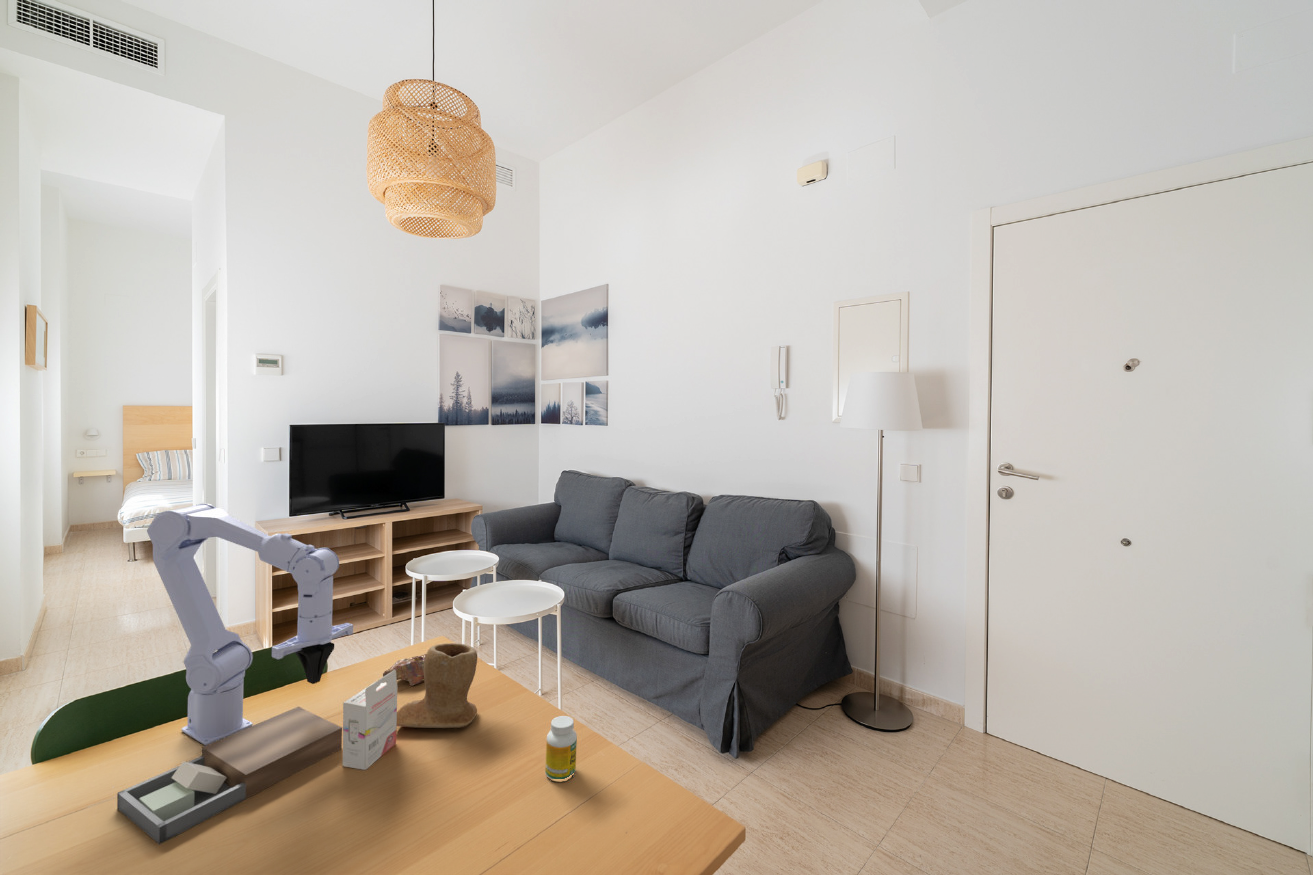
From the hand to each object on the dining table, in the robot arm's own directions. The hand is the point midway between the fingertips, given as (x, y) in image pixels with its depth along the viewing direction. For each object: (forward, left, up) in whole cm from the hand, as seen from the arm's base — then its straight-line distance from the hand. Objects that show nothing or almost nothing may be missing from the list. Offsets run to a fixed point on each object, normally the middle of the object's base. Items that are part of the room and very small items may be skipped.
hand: (313, 681), depth 108 cm
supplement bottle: (+49, +15, -10) cm, 52 cm away
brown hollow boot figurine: (+17, +16, -10) cm, 25 cm away
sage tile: (+3, -24, -7) cm, 25 cm away
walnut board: (+3, -9, -10) cm, 13 cm away
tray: (+3, -22, -10) cm, 24 cm away
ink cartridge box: (+16, +1, -10) cm, 19 cm away
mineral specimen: (-2, +24, -10) cm, 27 cm away
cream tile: (+3, -21, -8) cm, 22 cm away
